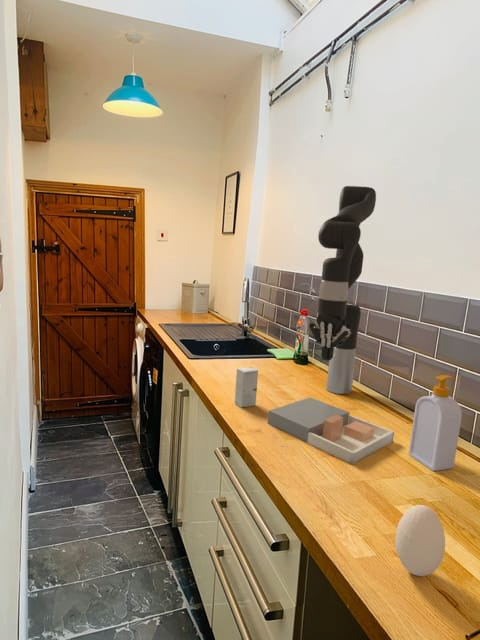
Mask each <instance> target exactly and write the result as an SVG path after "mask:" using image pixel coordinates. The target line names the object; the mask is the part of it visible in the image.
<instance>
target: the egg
mask: <svg viewBox="0 0 480 640" xmlns="http://www.w3.org/2000/svg"><path fill="white" fill-rule="evenodd" d="M395 531H396V532H395V539H394V541H395V551H396V554H397V557H398V559H399V561H400V562H401V564H402V566H403V567H404V568H405V569H406V570H407V571H408V572H409V573H410V574H412V575H415V576H419V577H425V576H426V577H427V576H428V575H431V574H433V573H434V572H435V571H436V570H437V569H438V568H439V567H440V566H441V563H442V561H443V559H444V556H445V553H446V536H445V532H444V527H443V524H442V522H441V519H440V518H439V516H438V514H437V513H436V512H435V510H433V509H432V508H431V507H429V506H427V505H423V504H417V505H413V506H411V507H410V508H409V509H407V511H406V512H405V513H404V514H403V515H402V516H401V518H400V519H399V522H398V524H397V527H396V530H395Z"/></svg>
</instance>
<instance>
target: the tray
mask: <svg viewBox="0 0 480 640" xmlns="http://www.w3.org/2000/svg"><path fill="white" fill-rule="evenodd" d="M355 421H357V422H360V423H362V424H365V425H368V426H370V427H373V428H375V431H374V436H373V437H372V438H370V439H368V440H366V441H365V442H361V441H359V440H357V439H354V438H352V437H349V436H347V435H344V432H345V426H347V425H349V424H351V423H353V422H355ZM394 435H395V431H393V430H390V429H388V428H386V427H382V426H380V425H377V424H374V423H372V422H370V421H367V420H364V419H362V418H360V417H356V416H354V415H352V414H351V415H350V414H349V421H348V424H346V425H344V426H342V435H341V438H340V439H338V440H336V441H334V442H331V441H329V440H327V439H325V438H322V436H323V435H321V436H318V435H316V434H313V433H311V432H309V433H308V442H307V444H308V445H311V446H313V447H314V448H316V449H319V450H321V451H323V452H325V453H327V454H329V455H332V456H333V457H336V458H338V459H340V460H342V461H344V462H347V463H348V464H350V465H352V466H353V465H355V464H356V463H358V462H360V461H361V460H363V459H365V458H367V457H368V456H370V455H373V454H374V453H376V452H378V451H379V450H381V449H383V448H384V447H386V446H387V445H389V444H392V443H393V442H394V438H395V437H394Z"/></svg>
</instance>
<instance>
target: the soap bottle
mask: <svg viewBox="0 0 480 640" xmlns="http://www.w3.org/2000/svg"><path fill="white" fill-rule="evenodd" d="M434 379H435V380H437V381H439V384H438V385H433V388H432V389H433V390H432V393H431V395H426V396H425V395H424V396H422V397H419V398H418V399H417V401H416V403H415V408H414V414H413V421H412V429H411V434H410V441H409V442H410V443H409V450H408V455H409V456H410V457H411V458H413V459H414V460H416V461H417V462H419V463H420V464H421V465H424V466H425V467H426V468H427V469H429V470H431V471H432V472H438V471H442V470H443V471H445V470H452V469H453V468H454V466H455V460H456V454H457V449H458V442H459V436H460V430H461V426H462V425H461V422H462V419H463V418H462V417H463V414H462V408H461V406H460V405H459V403H458V401H456V399H454V398H453V397H451V396H450V388H449V387H447V386H446V383H447V382H446V380H448V379H452V380H453V381H454V380H455V381H457V378H456V377H454V376H452V375H448V374H447V375H446V374H444V375H443V374H441V375H438V376H435V377H434Z"/></svg>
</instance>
